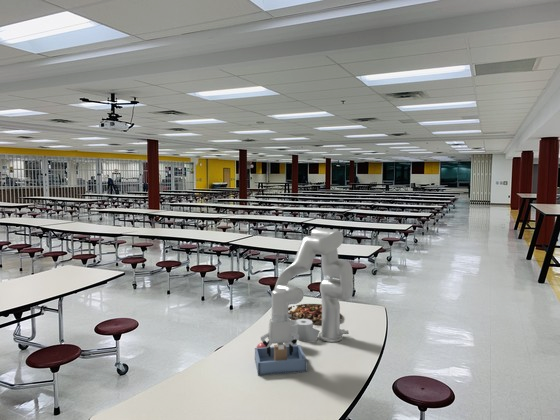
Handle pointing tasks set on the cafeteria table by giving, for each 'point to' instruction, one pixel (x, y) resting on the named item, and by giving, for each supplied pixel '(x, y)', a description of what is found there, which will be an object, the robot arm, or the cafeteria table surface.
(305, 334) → the toilet tissue
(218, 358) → the cafeteria table surface
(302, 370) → the tub
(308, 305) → the food dish
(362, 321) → the cafeteria table surface
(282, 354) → the brown and white block
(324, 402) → the cafeteria table surface
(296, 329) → the cup
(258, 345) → the red glossy sphere
